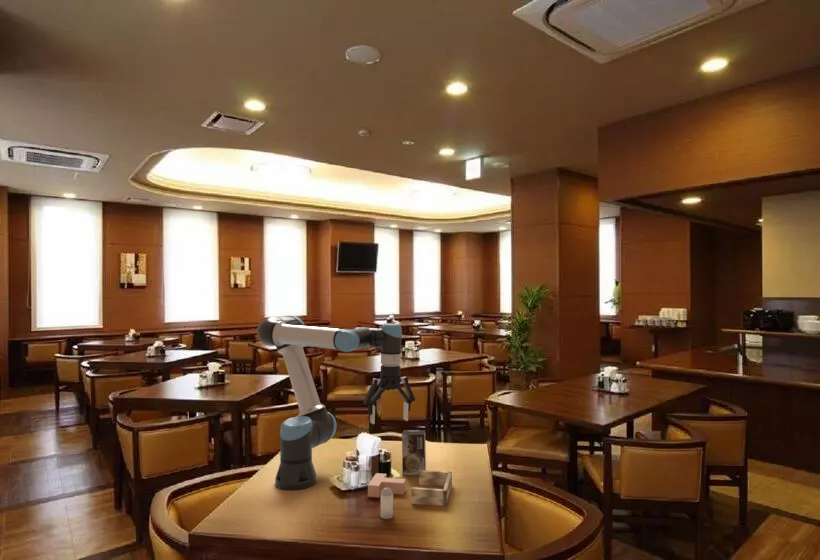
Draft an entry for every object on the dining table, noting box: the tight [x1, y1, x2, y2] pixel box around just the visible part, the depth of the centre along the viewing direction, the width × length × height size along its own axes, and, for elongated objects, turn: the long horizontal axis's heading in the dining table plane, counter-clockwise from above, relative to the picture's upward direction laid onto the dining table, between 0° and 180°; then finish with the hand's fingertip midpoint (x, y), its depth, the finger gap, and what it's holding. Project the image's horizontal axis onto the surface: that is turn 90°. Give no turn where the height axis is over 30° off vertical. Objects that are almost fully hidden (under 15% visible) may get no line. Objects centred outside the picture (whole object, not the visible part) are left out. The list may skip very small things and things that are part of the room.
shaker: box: [380, 488, 394, 520], centre depth 160 cm, size 4×4×9 cm
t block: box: [367, 472, 407, 498], centre depth 181 cm, size 12×12×4 cm
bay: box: [410, 469, 453, 507], centre depth 178 cm, size 12×18×5 cm, turn 170°
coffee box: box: [401, 429, 427, 476], centre depth 199 cm, size 9×6×16 cm
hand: (389, 421), depth 189 cm, fingers open, 13 cm apart
